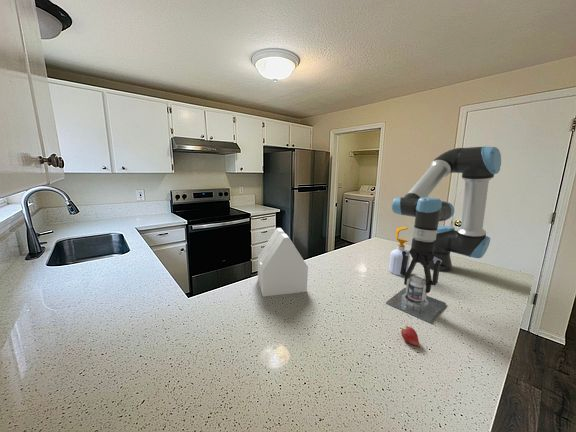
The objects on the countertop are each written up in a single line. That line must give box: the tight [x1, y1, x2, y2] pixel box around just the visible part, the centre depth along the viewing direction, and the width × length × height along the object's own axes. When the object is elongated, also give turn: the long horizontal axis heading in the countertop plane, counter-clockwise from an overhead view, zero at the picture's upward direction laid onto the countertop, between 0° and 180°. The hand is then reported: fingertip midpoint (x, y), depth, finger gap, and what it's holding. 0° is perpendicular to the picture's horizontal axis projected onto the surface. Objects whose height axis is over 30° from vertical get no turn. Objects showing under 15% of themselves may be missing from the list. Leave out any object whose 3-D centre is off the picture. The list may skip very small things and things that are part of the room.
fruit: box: [400, 325, 420, 347], centre depth 73 cm, size 4×6×5 cm
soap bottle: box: [388, 226, 411, 277], centre depth 121 cm, size 9×9×25 cm
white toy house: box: [257, 227, 309, 297], centre depth 104 cm, size 19×15×25 cm
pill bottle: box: [408, 274, 425, 301], centre depth 91 cm, size 5×5×9 cm
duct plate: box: [385, 287, 447, 324], centre depth 94 cm, size 18×16×3 cm
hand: (415, 296), depth 92 cm, fingers closed on pill bottle, 5 cm apart
